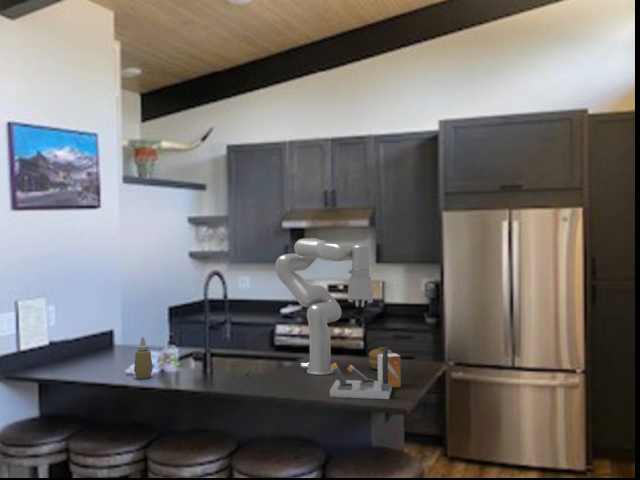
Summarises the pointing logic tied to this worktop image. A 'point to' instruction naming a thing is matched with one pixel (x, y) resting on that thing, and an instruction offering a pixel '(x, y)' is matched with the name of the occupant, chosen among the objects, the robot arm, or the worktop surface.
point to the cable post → (385, 370)
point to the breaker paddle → (357, 373)
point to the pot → (376, 357)
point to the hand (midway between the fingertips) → (360, 315)
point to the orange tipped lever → (338, 374)
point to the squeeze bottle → (143, 361)
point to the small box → (390, 369)
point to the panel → (360, 389)
